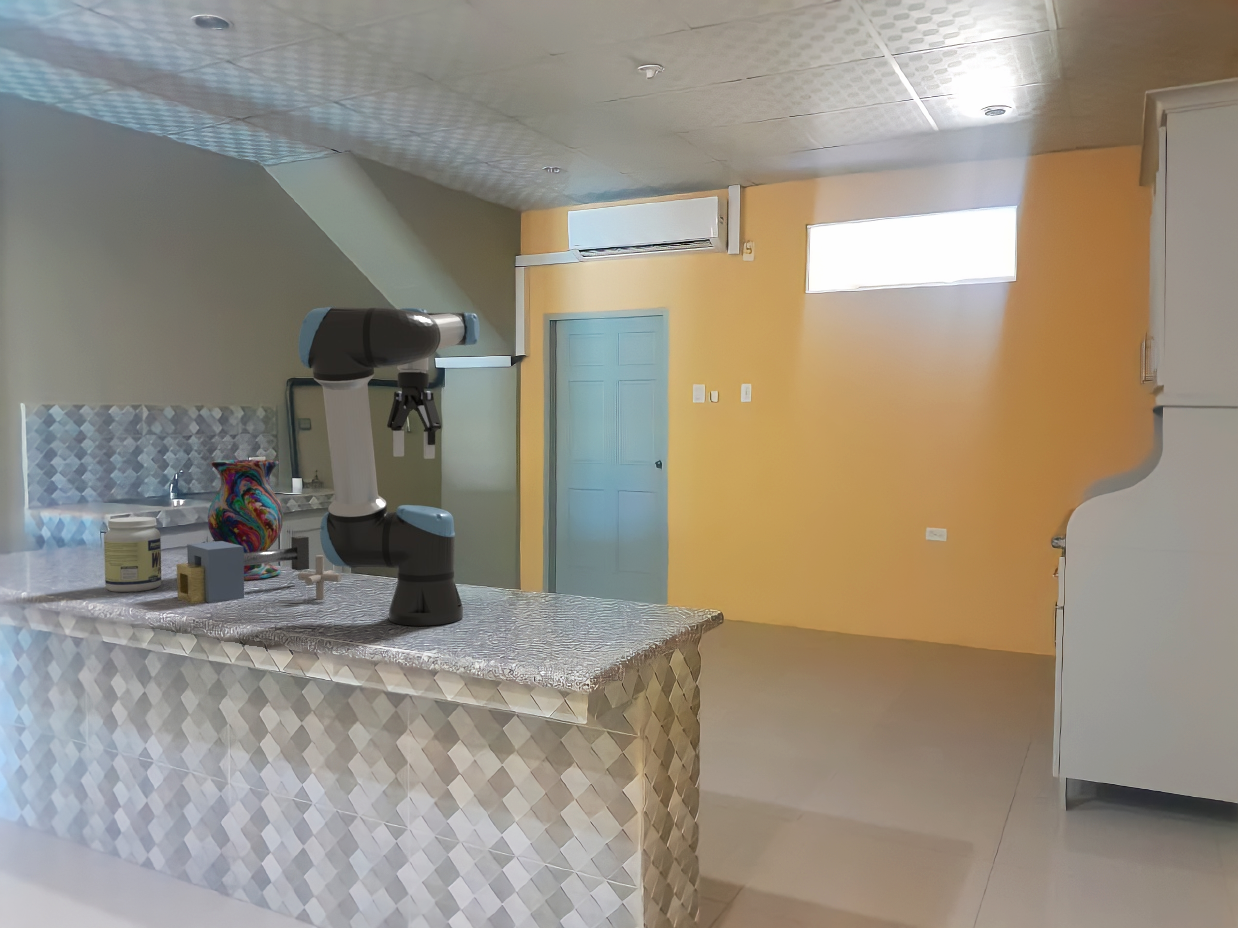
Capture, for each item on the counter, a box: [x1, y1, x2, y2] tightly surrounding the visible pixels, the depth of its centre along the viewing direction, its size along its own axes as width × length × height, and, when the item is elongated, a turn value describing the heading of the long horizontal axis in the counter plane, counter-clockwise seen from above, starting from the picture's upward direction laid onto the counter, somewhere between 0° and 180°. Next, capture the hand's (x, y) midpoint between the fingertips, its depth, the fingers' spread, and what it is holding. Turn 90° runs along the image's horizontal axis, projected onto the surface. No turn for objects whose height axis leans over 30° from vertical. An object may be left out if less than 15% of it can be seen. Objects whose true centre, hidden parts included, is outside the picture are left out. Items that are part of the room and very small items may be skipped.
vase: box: [207, 459, 284, 581], centre depth 243 cm, size 18×18×30 cm
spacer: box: [176, 562, 206, 605], centre depth 213 cm, size 8×3×8 cm, turn 46°
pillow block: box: [186, 541, 245, 604], centre depth 216 cm, size 12×8×12 cm, turn 46°
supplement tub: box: [103, 516, 162, 593], centre depth 226 cm, size 12×12×17 cm
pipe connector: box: [297, 554, 343, 601], centre depth 215 cm, size 10×10×10 cm
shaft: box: [244, 535, 310, 571], centre depth 224 cm, size 3×23×8 cm, turn 135°
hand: (413, 457), depth 232 cm, fingers open, 13 cm apart
